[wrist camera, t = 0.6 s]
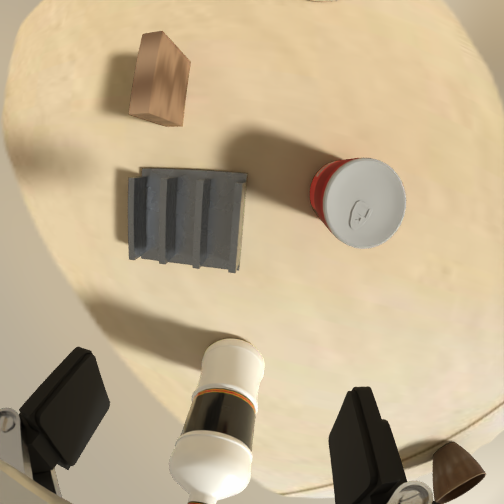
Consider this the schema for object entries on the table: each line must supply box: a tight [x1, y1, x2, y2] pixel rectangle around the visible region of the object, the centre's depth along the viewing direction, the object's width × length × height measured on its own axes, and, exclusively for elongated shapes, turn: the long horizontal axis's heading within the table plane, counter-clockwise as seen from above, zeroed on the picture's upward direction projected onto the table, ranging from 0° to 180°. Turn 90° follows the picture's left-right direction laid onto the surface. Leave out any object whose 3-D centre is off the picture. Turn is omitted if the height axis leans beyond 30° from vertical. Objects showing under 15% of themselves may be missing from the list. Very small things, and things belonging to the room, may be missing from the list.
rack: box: [128, 168, 248, 273], centre depth 33 cm, size 12×13×4 cm
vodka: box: [169, 338, 265, 504], centre depth 26 cm, size 9×9×30 cm
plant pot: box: [433, 442, 486, 504], centre depth 40 cm, size 15×15×16 cm
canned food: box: [310, 158, 406, 249], centre depth 27 cm, size 8×8×11 cm
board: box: [129, 31, 191, 127], centre depth 26 cm, size 9×2×10 cm, turn 175°
